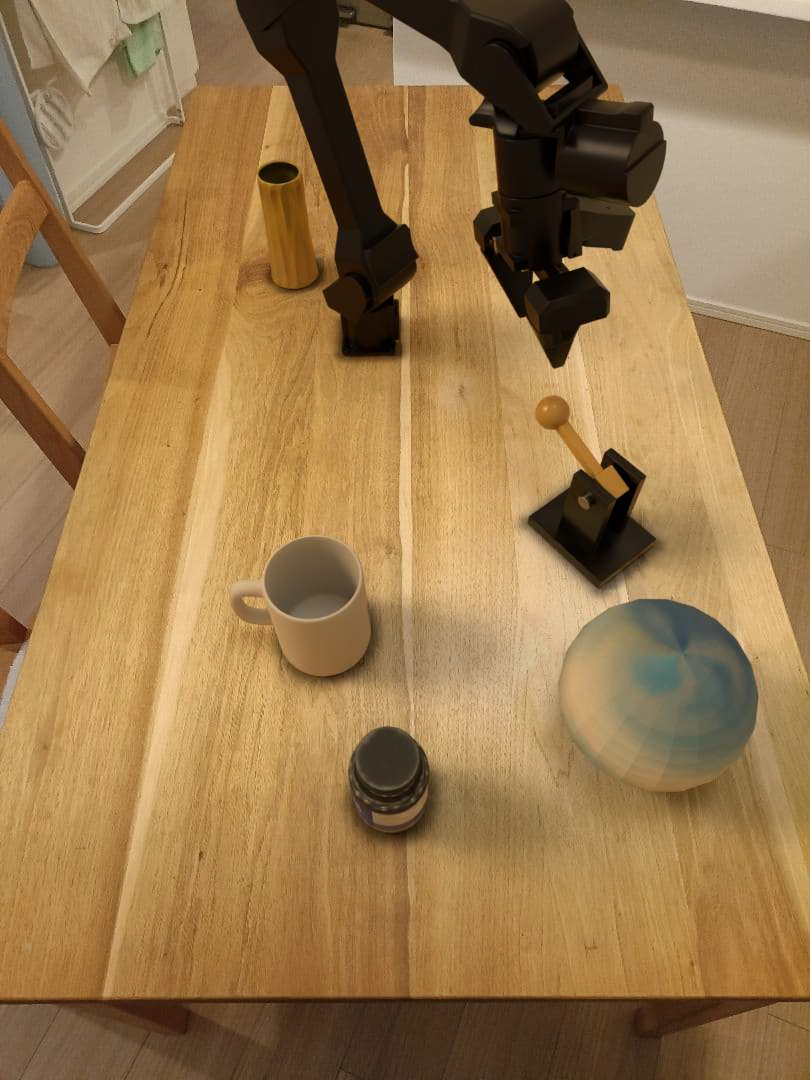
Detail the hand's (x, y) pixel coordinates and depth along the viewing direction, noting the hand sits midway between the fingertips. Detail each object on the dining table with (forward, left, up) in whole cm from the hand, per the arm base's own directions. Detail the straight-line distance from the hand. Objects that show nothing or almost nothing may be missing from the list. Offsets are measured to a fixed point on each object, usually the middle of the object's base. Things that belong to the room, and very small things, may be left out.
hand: (540, 340), depth 75 cm
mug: (-23, -25, -13) cm, 36 cm away
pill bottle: (-15, -40, -13) cm, 45 cm away
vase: (-28, +27, -13) cm, 41 cm away
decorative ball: (+6, -34, -13) cm, 37 cm away
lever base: (+5, -14, -13) cm, 20 cm away
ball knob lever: (+2, -11, -5) cm, 12 cm away
